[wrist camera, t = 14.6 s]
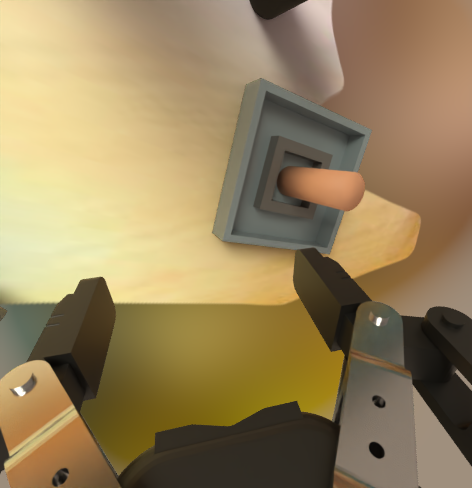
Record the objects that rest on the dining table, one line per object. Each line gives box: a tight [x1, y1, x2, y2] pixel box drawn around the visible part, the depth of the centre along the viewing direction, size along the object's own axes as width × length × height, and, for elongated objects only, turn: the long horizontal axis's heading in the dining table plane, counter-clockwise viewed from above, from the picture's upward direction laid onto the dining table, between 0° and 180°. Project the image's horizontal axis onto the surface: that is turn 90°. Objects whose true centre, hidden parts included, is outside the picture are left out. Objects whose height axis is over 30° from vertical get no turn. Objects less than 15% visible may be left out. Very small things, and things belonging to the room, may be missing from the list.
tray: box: [212, 78, 372, 254], centre depth 40 cm, size 20×20×4 cm
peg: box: [277, 166, 365, 211], centre depth 36 cm, size 4×4×12 cm
